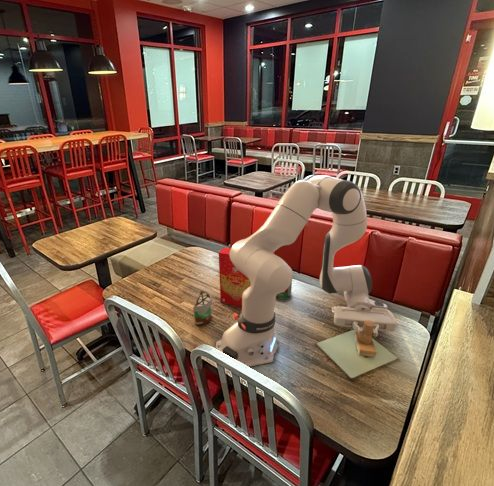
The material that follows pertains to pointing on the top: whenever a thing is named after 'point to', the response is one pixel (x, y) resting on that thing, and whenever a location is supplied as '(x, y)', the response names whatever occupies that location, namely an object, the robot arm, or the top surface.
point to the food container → (203, 308)
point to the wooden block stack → (366, 340)
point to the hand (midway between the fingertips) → (368, 333)
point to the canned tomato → (284, 294)
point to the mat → (354, 354)
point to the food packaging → (231, 280)
